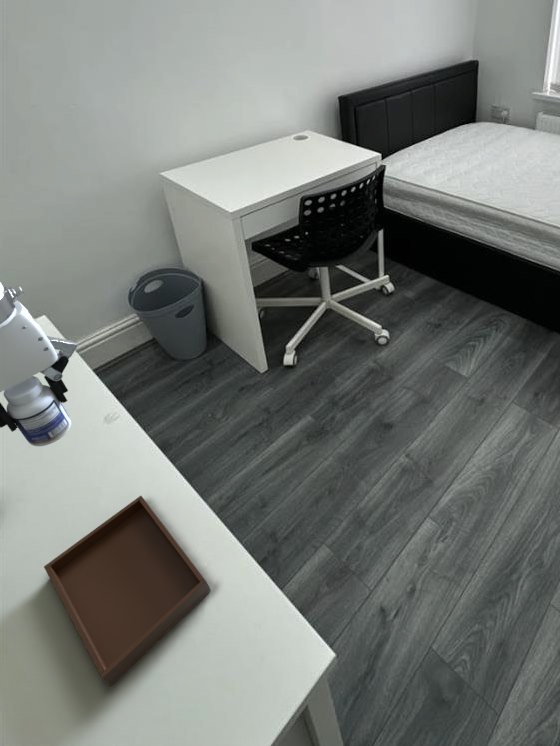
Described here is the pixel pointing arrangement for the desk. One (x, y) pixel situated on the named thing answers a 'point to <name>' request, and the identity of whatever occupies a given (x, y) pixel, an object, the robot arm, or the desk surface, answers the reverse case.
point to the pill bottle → (37, 412)
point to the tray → (125, 587)
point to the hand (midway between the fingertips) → (36, 410)
